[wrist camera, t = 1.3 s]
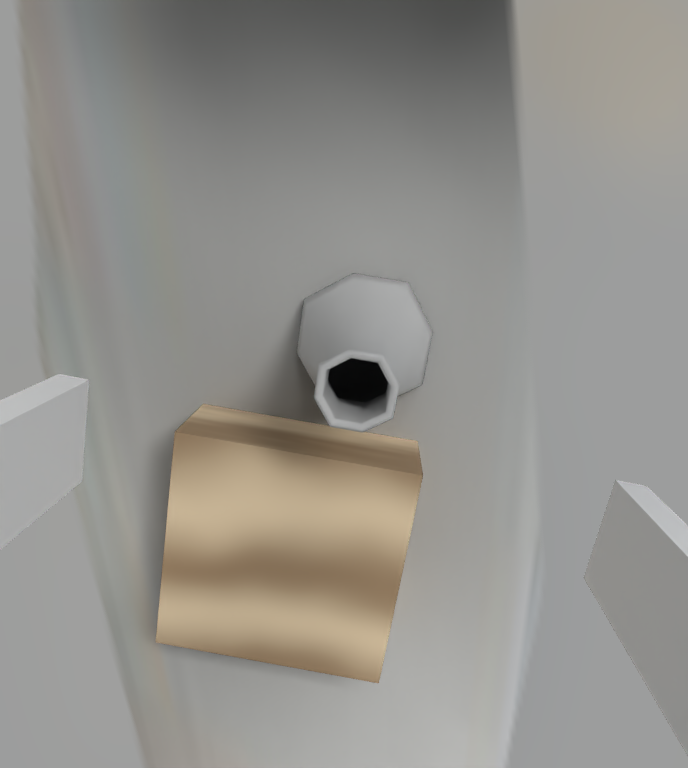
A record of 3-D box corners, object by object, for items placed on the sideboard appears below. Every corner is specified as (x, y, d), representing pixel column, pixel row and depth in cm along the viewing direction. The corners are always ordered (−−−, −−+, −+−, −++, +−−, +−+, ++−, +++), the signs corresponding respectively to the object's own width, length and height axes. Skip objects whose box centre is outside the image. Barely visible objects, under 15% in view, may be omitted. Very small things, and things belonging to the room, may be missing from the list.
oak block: (205, 402, 33) (174, 431, 28) (417, 439, 33) (422, 475, 28) (185, 587, 36) (155, 642, 31) (379, 622, 36) (378, 683, 31)
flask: (284, 283, 31) (240, 309, 21) (423, 261, 30) (443, 277, 21) (309, 415, 33) (278, 493, 23) (441, 397, 32) (466, 470, 22)
